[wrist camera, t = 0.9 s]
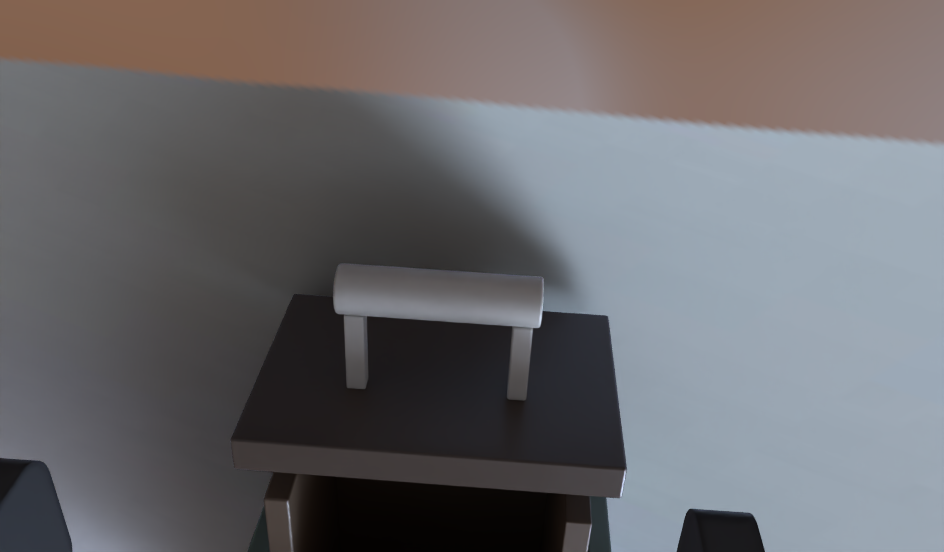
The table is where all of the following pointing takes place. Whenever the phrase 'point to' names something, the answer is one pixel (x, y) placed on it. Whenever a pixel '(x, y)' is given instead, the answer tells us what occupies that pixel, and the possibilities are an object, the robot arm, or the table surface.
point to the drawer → (433, 417)
